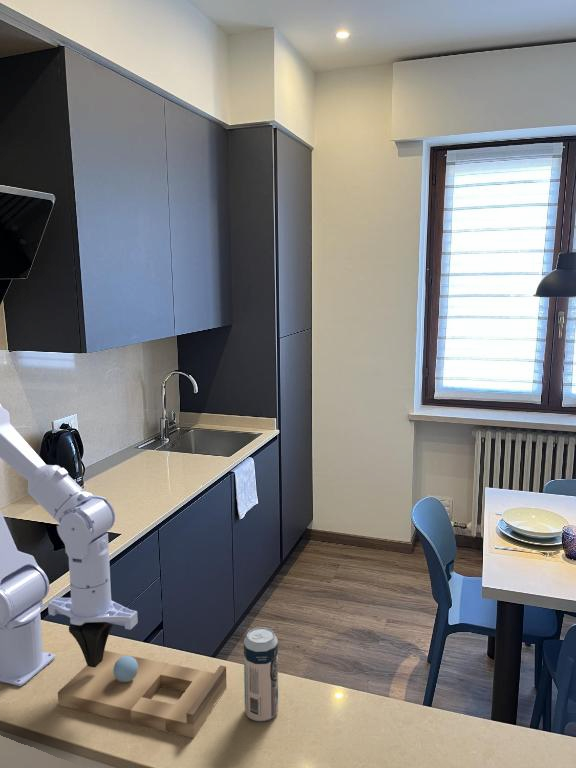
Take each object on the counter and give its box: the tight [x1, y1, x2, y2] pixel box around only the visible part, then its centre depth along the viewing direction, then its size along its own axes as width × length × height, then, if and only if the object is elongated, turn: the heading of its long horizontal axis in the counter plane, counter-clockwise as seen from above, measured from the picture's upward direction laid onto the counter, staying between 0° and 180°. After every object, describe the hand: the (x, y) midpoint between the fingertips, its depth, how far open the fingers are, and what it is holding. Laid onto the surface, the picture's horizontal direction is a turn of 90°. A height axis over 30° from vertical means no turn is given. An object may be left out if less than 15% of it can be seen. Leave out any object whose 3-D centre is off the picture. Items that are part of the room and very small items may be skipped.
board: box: [57, 649, 228, 739], centre depth 87 cm, size 22×11×4 cm, turn 72°
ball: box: [113, 655, 138, 682], centre depth 88 cm, size 4×4×4 cm
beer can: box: [243, 626, 279, 722], centre depth 83 cm, size 5×5×12 cm
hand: (95, 663), depth 90 cm, fingers closed
